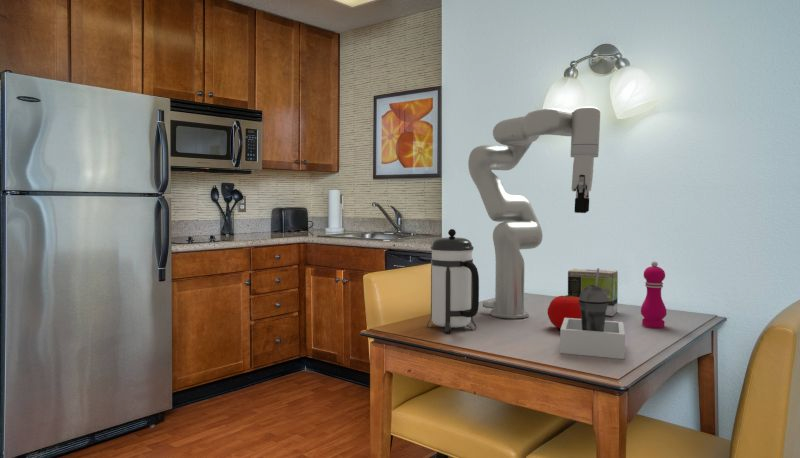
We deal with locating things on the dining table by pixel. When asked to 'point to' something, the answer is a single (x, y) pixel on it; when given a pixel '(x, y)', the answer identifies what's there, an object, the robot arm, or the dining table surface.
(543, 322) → the dining table surface
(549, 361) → the dining table surface
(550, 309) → the tomato
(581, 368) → the dining table surface
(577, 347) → the box
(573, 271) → the tea box
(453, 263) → the coffee press
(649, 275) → the pepper mill
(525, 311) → the robot arm
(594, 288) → the beverage cup
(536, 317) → the dining table surface
